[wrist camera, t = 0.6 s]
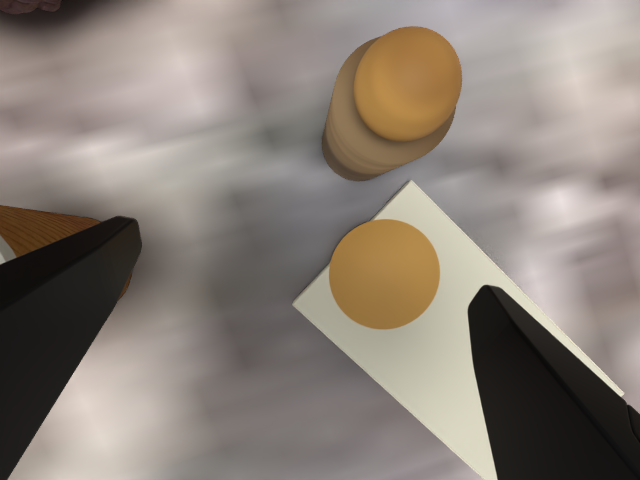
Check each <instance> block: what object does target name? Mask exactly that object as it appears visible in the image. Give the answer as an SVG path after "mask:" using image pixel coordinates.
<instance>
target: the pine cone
mask: <svg viewBox="0 0 640 480" xmlns="http://www.w3.org/2000/svg"><path fill="white" fill-rule="evenodd" d="M61 1H62V0H0V10H2V11H4V12H6V13H10V14H21V13H22V12H23V13H29V12H31V11H33V10H35V9H36V8H41V9H42V10H46V11H53V12H55V11H56V10H58V9H59V8H60V4H61Z"/></svg>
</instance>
